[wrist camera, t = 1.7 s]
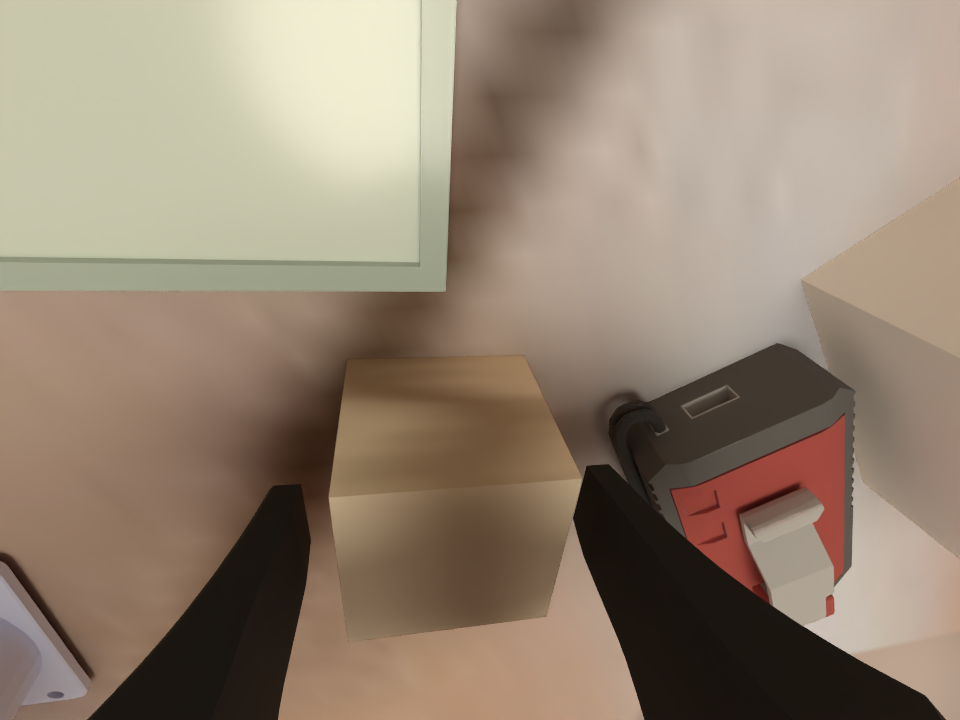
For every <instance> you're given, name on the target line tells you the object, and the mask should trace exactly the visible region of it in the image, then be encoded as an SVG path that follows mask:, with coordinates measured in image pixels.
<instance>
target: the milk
mask: <svg viewBox="0 0 960 720" xmlns="http://www.w3.org/2000/svg"><path fill="white" fill-rule="evenodd" d="M801 281H802V284H803V288H804V291H805V294H806V297H807V301H808V304H809V307H810V310H811V313H812V317H813V320H814V323H815V326H816V330H817V333H818V336H819V339H820V343H821V346H822V349H823V352H824V356H825V359H826V362H827V365H828V369H829V372H830V373H831V374H832V375H833V376H835V377H836V378H838V379H839V380H841V381H842V382H844V383H845V384H846V385H848V386H849V387H851V388H852V389H854V390H855V391H856V393H855V395H854V401H855V407H854V409H853V413H854V414H855V418H854V420H853V425H854V426H855V430H854V431H853V437H855V441H854V442H853V448H854V453H855V456H856V459H857V463H858V466H859V469H860V472H861V476H862V479H863V482H864V483H865V484H866V485H867V486H869V487H870V488H871V489H872V490H874V491H875V492H876V493H877V494H879V495H880V496H881V497H882V498H884V499H885V500H886V501H887V502H889V503H890V504H891V505H892V506H894V507H895V508H896V509H897V510H899V511H900V512H901V513H902V514H904V515H905V516H906V517H907V518H909V519H910V520H911V521H912V522H914V523H915V524H916V525H917V526H919V527H920V528H921V529H922V530H924V531H925V532H926V533H927V534H929V535H930V536H931V537H932V538H934V539H935V540H936V541H938V542H939V543H940V544H941V545H943V546H944V547H945V548H946V549H948V550H949V551H950V552H951V553H953V554H954V555H955V556H956V557H958V558H959V559H960V178H959V179H957V180H956V181H954V182H953V183H951V184H950V185H948V186H946V187H945V188H943V189H942V190H940V191H939V192H937V193H935V194H934V195H932V196H931V197H929V198H928V199H926V200H925V201H923V202H921V203H920V204H918V205H917V206H915V207H914V208H912V209H910V210H909V211H907V212H906V213H904V214H903V215H901V216H900V217H898V218H896V219H895V220H893V221H892V222H890V223H889V224H887V225H885V226H884V227H882V228H881V229H879V230H878V231H876V232H875V233H873V234H871V235H870V236H868V237H867V238H865V239H864V240H862V241H860V242H859V243H857V244H856V245H854V246H853V247H851V248H850V249H848V250H846V251H845V252H843V253H842V254H840V255H839V256H837V257H835V258H834V259H832V260H831V261H829V262H828V263H826V264H825V265H823V266H821V267H820V268H818V269H817V270H815V271H814V272H812V273H810V274H809V275H807V276H806V277H804V278H803V279H801Z"/></svg>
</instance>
